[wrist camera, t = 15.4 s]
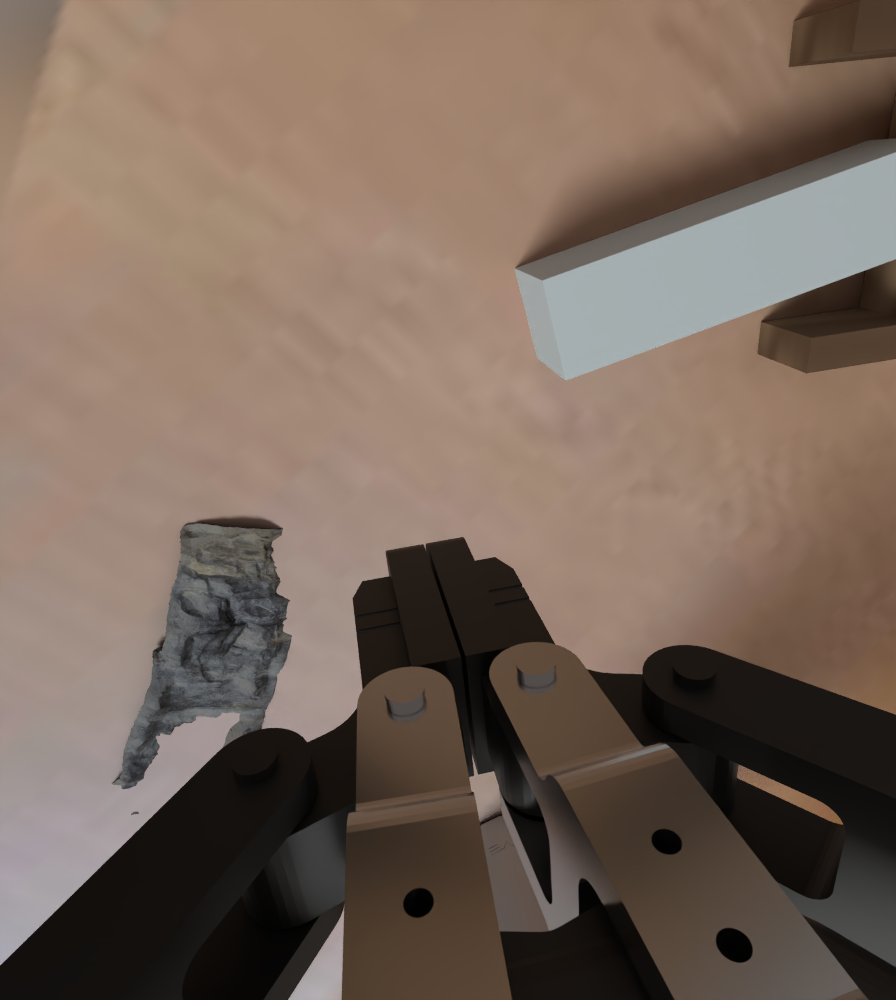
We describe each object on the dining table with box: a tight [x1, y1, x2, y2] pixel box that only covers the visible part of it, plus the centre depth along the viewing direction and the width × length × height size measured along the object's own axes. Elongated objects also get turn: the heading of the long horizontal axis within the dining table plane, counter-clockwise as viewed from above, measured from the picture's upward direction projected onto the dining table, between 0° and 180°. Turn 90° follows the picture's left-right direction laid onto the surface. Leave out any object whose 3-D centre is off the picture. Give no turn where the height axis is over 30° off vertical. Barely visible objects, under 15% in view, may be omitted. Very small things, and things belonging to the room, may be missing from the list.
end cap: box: [758, 0, 896, 373], centre depth 28 cm, size 13×6×4 cm, turn 6°
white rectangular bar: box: [515, 138, 896, 380], centre depth 28 cm, size 4×16×4 cm, turn 107°
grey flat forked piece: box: [112, 523, 292, 815], centre depth 34 cm, size 21×7×2 cm, turn 157°
